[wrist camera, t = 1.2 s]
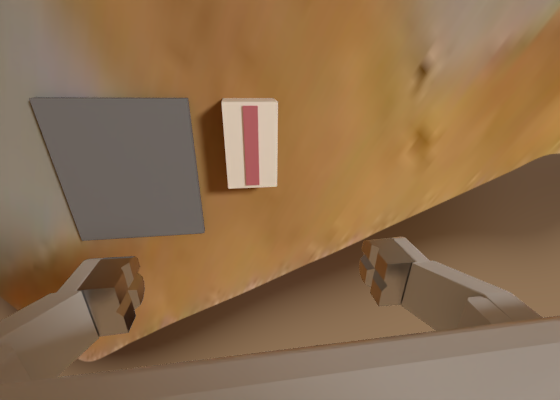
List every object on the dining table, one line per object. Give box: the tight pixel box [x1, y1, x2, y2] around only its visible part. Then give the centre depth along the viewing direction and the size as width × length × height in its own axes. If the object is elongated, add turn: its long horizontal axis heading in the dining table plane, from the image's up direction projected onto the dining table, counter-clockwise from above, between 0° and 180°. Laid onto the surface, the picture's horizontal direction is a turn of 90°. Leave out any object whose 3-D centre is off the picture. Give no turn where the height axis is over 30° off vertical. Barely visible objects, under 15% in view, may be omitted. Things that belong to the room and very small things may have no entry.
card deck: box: [221, 98, 278, 189], centre depth 33 cm, size 10×6×4 cm, turn 179°
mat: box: [29, 97, 205, 241], centre depth 34 cm, size 18×16×1 cm
